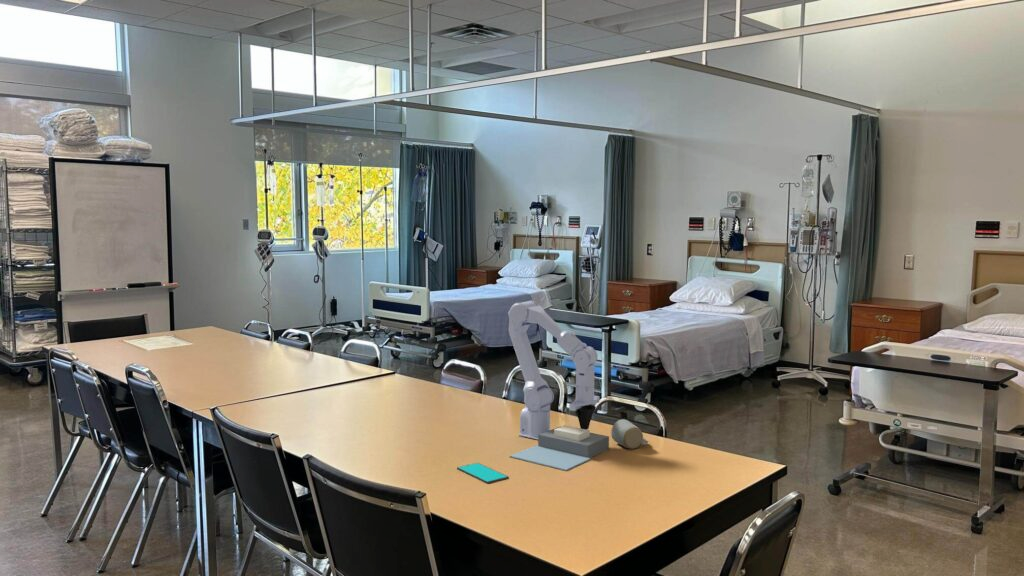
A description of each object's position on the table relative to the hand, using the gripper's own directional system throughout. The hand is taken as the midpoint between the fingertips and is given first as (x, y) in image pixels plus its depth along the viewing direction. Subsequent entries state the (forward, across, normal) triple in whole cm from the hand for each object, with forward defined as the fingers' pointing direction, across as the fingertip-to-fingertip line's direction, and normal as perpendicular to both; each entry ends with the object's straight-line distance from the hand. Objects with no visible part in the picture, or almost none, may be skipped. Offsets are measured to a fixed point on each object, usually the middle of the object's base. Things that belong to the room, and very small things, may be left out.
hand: (584, 428), depth 233 cm
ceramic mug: (+5, +7, -12) cm, 15 cm away
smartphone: (+5, -41, +7) cm, 42 cm away
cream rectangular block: (+1, -7, 0) cm, 7 cm away
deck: (+5, -6, 0) cm, 8 cm away
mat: (+5, -19, 0) cm, 19 cm away
